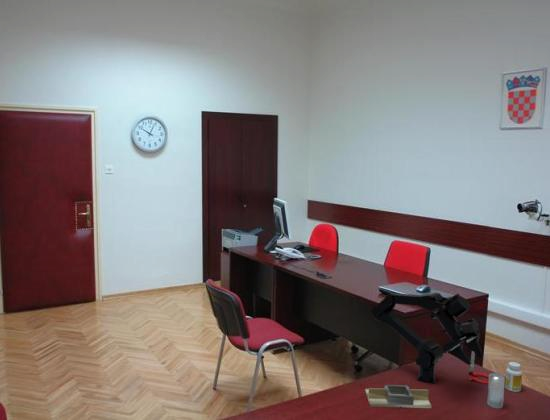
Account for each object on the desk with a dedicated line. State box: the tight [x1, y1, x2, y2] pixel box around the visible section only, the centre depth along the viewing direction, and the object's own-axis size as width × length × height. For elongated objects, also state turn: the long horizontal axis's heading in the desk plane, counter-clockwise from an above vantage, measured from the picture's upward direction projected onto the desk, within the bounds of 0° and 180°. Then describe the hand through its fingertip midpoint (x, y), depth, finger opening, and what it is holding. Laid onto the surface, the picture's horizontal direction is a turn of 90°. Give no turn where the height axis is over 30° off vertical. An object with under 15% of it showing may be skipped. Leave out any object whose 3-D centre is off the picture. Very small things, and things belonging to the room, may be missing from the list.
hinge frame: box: [364, 384, 432, 409], centre depth 173 cm, size 11×21×4 cm, turn 89°
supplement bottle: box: [504, 361, 523, 393], centre depth 182 cm, size 5×5×10 cm
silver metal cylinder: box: [486, 372, 506, 409], centre depth 170 cm, size 5×5×10 cm
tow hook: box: [468, 350, 489, 385], centre depth 189 cm, size 8×13×9 cm
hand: (476, 361), depth 174 cm, fingers open, 9 cm apart
